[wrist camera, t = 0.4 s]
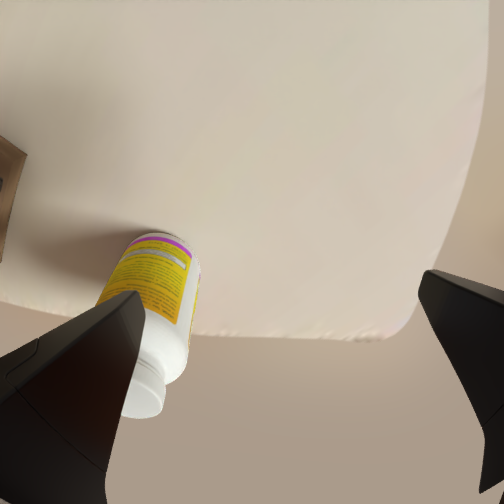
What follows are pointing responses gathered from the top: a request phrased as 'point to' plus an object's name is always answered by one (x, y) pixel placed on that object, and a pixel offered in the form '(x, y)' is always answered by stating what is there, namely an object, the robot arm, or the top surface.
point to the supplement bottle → (157, 314)
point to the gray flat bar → (0, 182)
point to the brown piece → (8, 183)
